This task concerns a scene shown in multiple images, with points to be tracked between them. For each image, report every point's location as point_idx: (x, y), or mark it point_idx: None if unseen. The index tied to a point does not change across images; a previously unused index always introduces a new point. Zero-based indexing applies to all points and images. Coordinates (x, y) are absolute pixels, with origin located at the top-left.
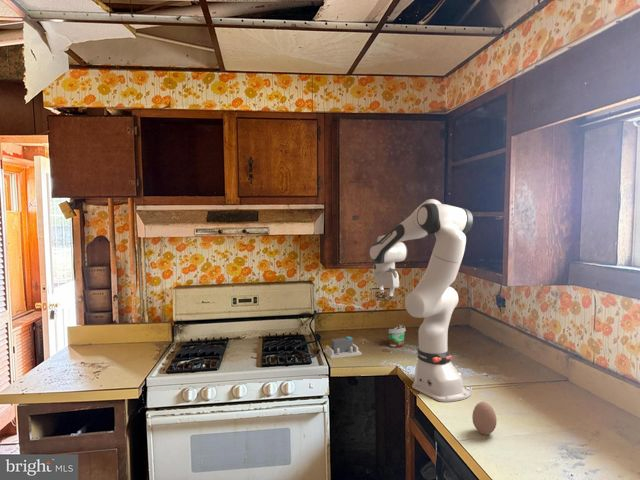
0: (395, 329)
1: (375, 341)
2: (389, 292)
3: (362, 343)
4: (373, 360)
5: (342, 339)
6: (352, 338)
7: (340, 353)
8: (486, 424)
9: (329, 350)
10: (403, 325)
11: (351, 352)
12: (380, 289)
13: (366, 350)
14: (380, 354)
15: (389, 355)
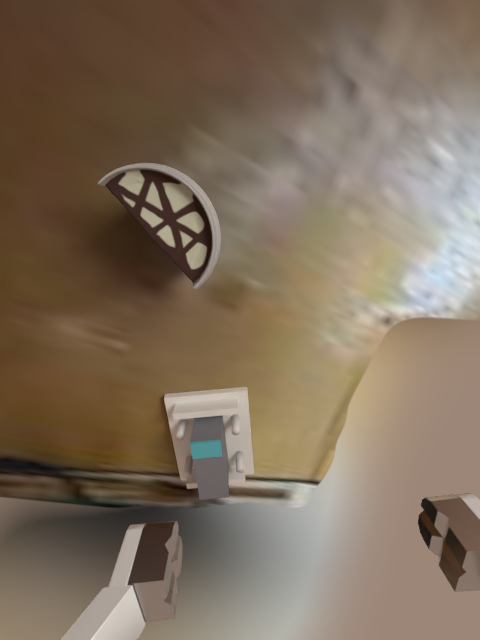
0: (211, 256)
1: (104, 291)
2: (466, 585)
3: (122, 347)
4: (310, 369)
5: (211, 470)
6: (220, 443)
7: (232, 446)
8: None
9: None
10: (141, 167)
11: (239, 419)
12: (143, 627)
13: (208, 359)
14: (264, 329)
15: (285, 303)
